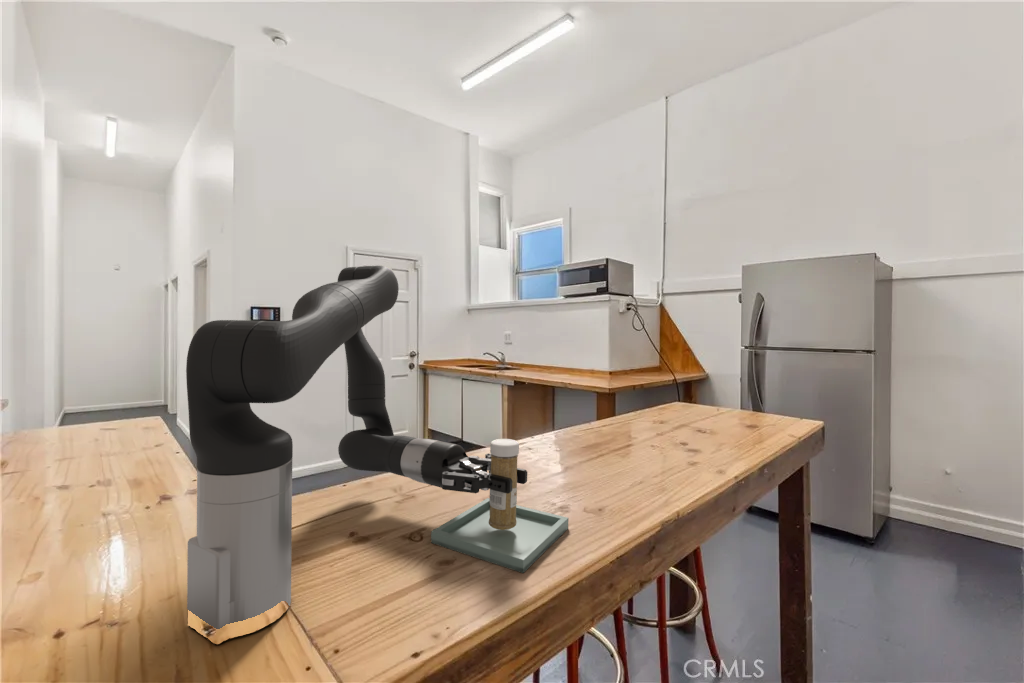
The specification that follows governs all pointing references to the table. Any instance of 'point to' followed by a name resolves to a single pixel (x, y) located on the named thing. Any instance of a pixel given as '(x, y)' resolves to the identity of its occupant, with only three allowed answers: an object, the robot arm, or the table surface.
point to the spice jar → (506, 466)
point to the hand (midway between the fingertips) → (518, 481)
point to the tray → (501, 536)
